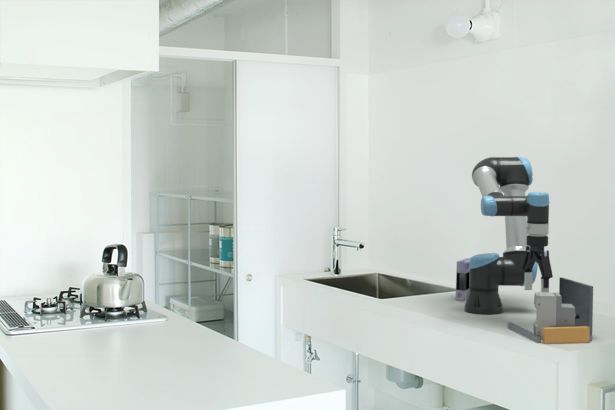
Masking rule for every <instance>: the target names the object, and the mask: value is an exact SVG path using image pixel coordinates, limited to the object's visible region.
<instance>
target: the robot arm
mask: <svg viewBox="0 0 615 410" xmlns="http://www.w3.org/2000/svg"><path fill="white" fill-rule="evenodd" d="M471 173H472V174H471V179H472V182H473V184H474V185H475V186H476V187H478V189H479V192H480V194H481V199H480V212H481V215H482V216H485V217H504V224H505V226H504V227H505V245H506V246H505V248H506V249H505V250H504V251H503V253H502V256H500V254H499V253H498V252H497V253H496V252H492V253H491V252H487V253H486V252H485V253H479V254H475V255H471V257H469V258H470V264H469V294H468V297H467V300H466V301H465V303H464V312H467V313H472V314H477V315H496V314H501V313H503V311H504V310H503V308H504V307H503V303H502V300H501V297H500V293H499V286H501V287H502V286H503V287H504V286H509V287H510V286H512V287H514V286H515V287H516V286H517V287H524V291H533V285H534V283H535V281H536V278H537V273H538V268H539V271H540V275H541V277H540V292H550V279H552V278H553V271H552V265H551V260H550V250H547V249H546V250H545V248H546V247H548V246H549V233H550V232H549V229H550V228H549V225H550V223H549V220H550V219H549V218H550V217H549V216H550V204H551V203H550V202H551V201H550V194H549V193H548V192H545V191H544V192H543V191H531V192H528V193H527V195H526V192H527V191H528V189H529V186H531V185H532V183H533V181H534V179H533V176H534V174H533V168H532V165H531V162H530V160H529V159H528V158H527V157H522V156H521V157H520V156H513V157H509V156H505V157H504V156H501V157H500V156H498V157H496V156H492V157H491V156H490V157H486V158H484V159H482V160H481V161H479V162H478V163H477V164H476V165H475V166H474V168H473V169H472V172H471Z"/></svg>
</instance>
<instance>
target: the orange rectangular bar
mask: <svg viewBox="0 0 615 410" xmlns="http://www.w3.org/2000/svg"><path fill="white" fill-rule="evenodd" d="M589 334H590V327H587V326H580V327H546V328H543V336H542V340H541V343H542V342H543V343H542V344H544V343H555V344H579V343H581V344H582V343H583V344H584V343H590V341H589Z"/></svg>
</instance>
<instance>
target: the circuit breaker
mask: <svg viewBox="0 0 615 410" xmlns="http://www.w3.org/2000/svg"><path fill="white" fill-rule="evenodd" d="M533 305H534V308H535V309H536V314H535V315H536V319H535V320H534V321H533V333H534V334H536V335H539V336H541V339H542V336H543V328H546V327H575V318H577V319H579V315H578V314H575V307H574V306H573V305H572V304H562V296H561V295H560V294H559V292H552V291H551V292H550V291H549V292H541V291H539V292H536V291H534V297H533Z"/></svg>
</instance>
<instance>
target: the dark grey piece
mask: <svg viewBox="0 0 615 410" xmlns="http://www.w3.org/2000/svg"><path fill="white" fill-rule="evenodd" d="M558 280H559V284H558V285H559V287H558V289H559V291H558V293H559V294H560V295H561V296H562V304H572V305H573V306H574V307H575V314H578V315H579V319H577V318H575V327H580V326H587V327H590V334H589V342H592V341H593V326H594V324H593V319H594V317H593V316H594V315H593V314H594V286H593V285H589V284H587V283H583V282H581V281H577V280H573V279H569V278H566V277H559V279H558ZM507 328H508V329H510V330H511V331H513V332H515V333H517V334H519V335H521V336H523V337H525V338H527V339H529V340H531V341H533V342H535V343H537V344H540V343H542V340H541V336H539V335H536V334H534V332H532V331H531V330H528V329H526V328H524V327H522V326H519V325H517V323H513V322H510V321H508V322H507Z"/></svg>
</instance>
